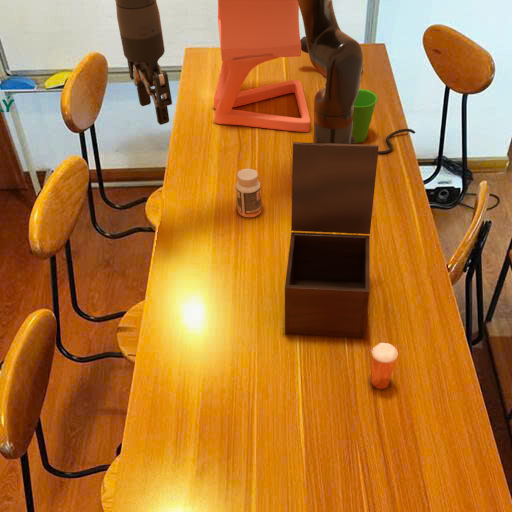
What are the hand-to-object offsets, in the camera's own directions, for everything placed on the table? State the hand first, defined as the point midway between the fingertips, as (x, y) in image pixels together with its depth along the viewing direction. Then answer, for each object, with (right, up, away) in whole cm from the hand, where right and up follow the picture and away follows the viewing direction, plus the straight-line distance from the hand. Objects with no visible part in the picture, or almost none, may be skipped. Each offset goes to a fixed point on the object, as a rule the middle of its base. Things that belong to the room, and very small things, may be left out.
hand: (154, 113), depth 136 cm
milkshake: (+43, -54, -8) cm, 69 cm away
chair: (+20, +23, +55) cm, 63 cm away
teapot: (+41, +42, +70) cm, 91 cm away
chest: (+34, -38, +5) cm, 51 cm away
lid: (+35, -17, -6) cm, 39 cm away
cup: (+46, +13, +46) cm, 66 cm away
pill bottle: (+18, -12, +27) cm, 34 cm away
